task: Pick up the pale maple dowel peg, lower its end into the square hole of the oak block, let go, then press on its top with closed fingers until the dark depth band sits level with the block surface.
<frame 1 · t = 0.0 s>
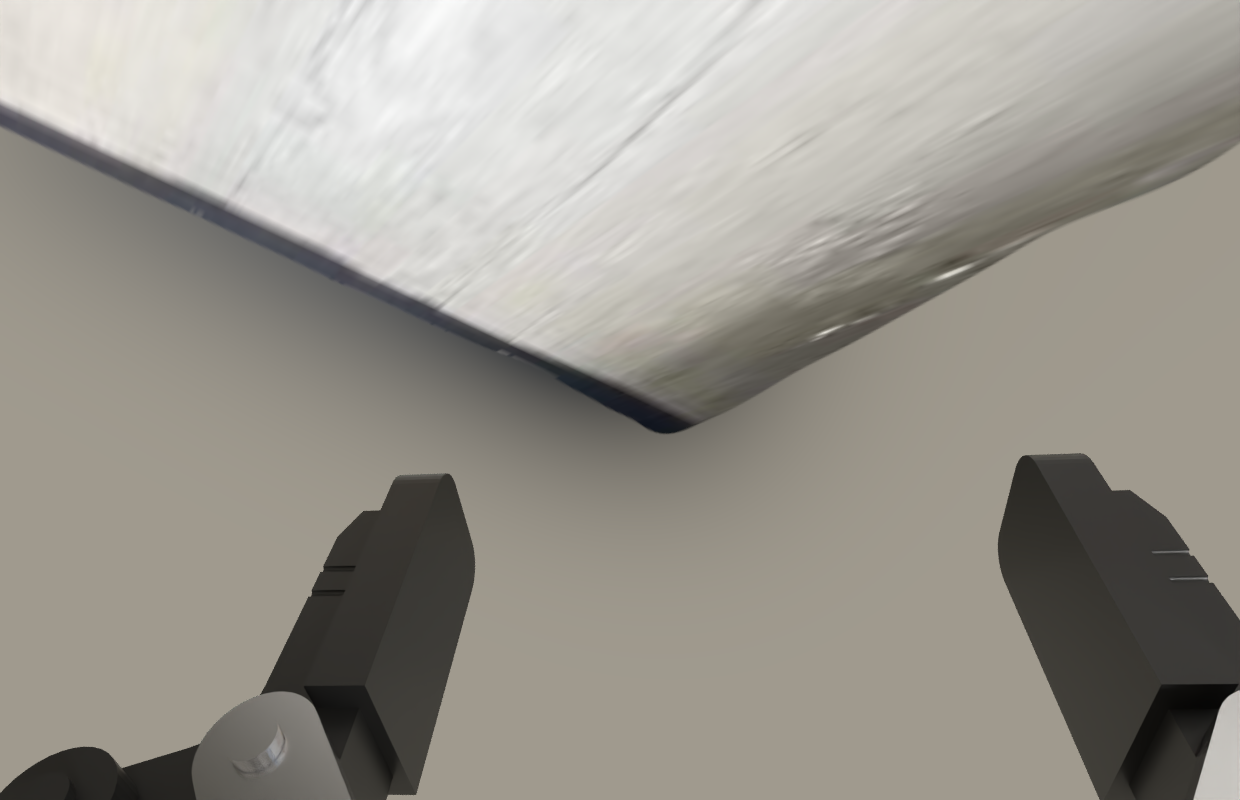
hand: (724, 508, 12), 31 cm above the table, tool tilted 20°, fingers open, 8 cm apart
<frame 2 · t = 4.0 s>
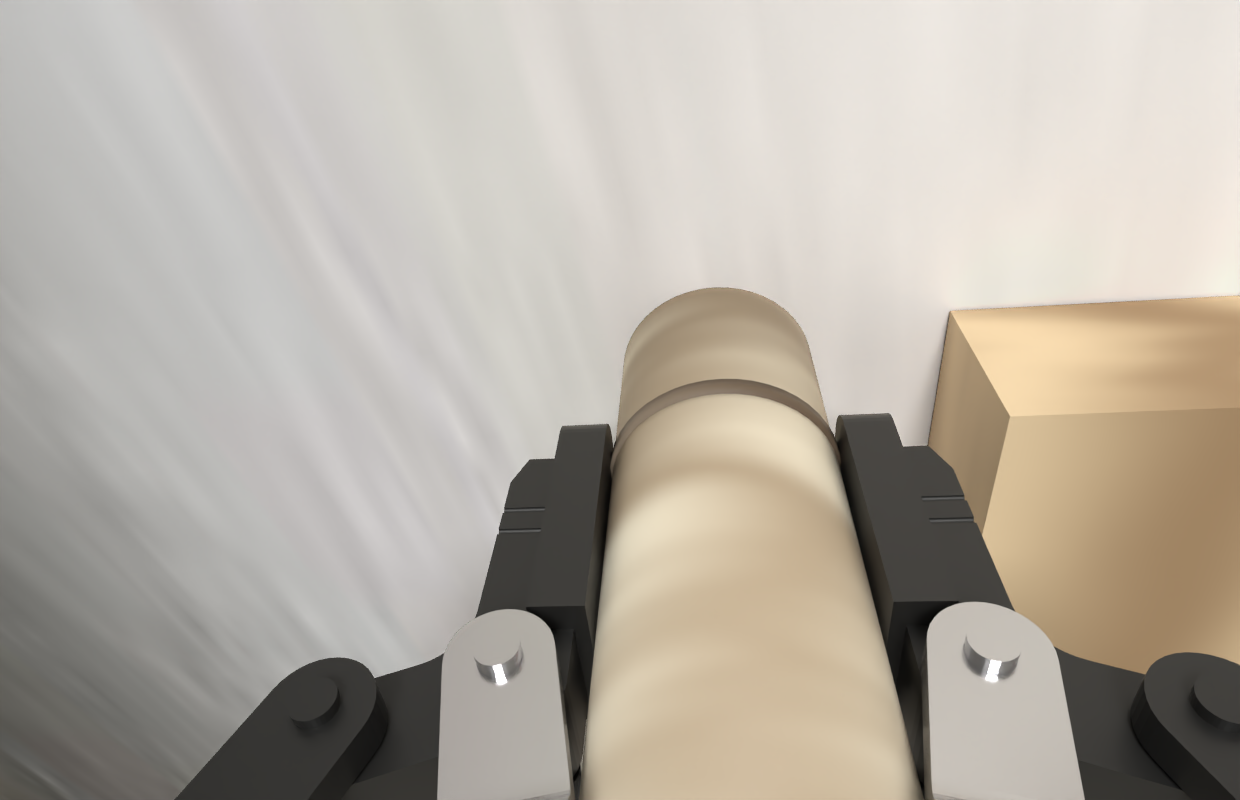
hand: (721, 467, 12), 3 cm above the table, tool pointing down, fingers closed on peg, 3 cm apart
peg: (716, 370, 14), on the table, touching gripper
when the fingers open (4 cm above the table, at t = 7.5 s): peg drops 1 cm, resting in board.
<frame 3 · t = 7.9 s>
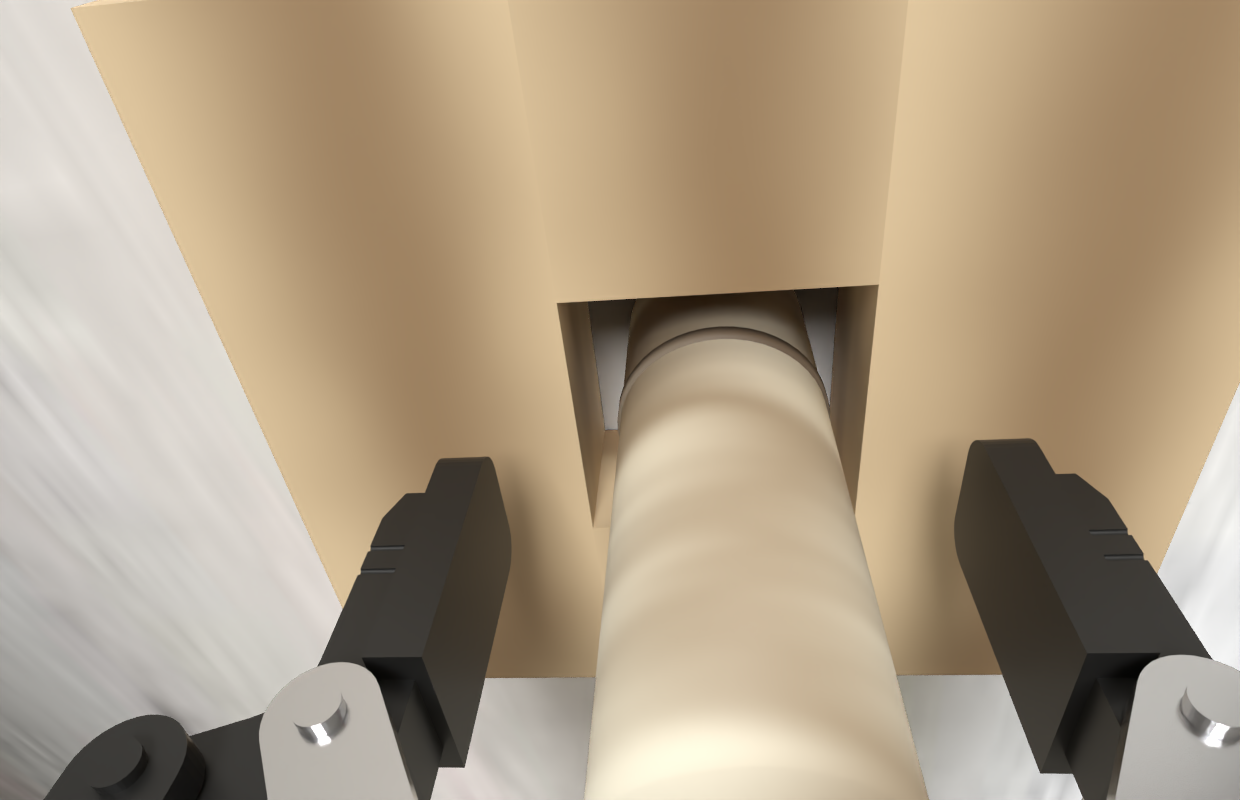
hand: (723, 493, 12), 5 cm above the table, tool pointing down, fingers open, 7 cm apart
board: (712, 329, 16), on the table
peg: (715, 330, 16), resting in board
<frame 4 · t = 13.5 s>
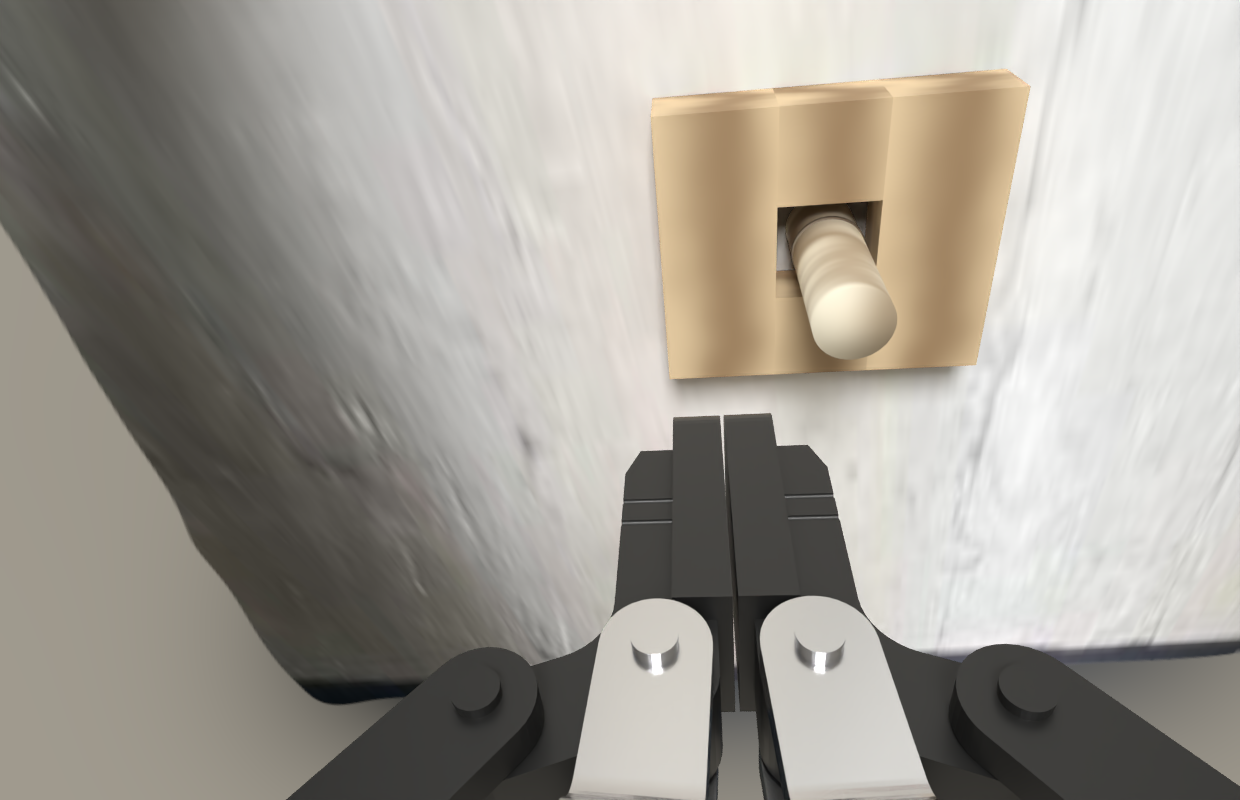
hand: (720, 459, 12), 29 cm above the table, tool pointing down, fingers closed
board: (818, 226, 40), on the table
peg: (819, 226, 40), resting in board
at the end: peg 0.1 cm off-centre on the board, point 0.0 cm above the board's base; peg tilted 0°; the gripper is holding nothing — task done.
